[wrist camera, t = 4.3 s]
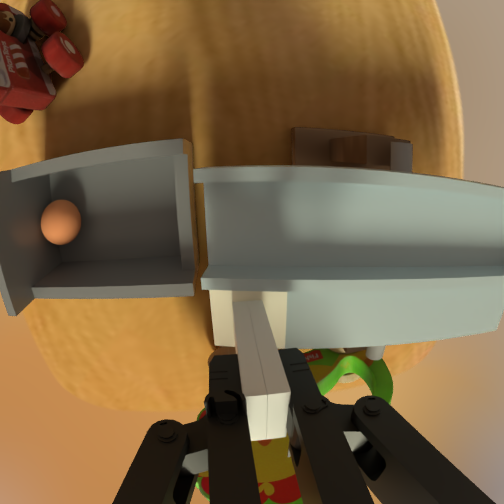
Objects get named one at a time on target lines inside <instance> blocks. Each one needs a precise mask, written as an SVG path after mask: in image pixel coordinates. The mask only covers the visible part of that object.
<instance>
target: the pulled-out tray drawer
mask: <svg viewBox="0 0 504 504" xmlns="http://www.w3.org/2000/svg"><path fill="white" fill-rule="evenodd" d="M193 169H194V167H193V144H192V143H190V142H188V141H187V140H185V139H183V138H181V139H170V140H160V141H151V142H143V143H135V144H128V145H121V146H115V147H109V148H103V149H97V150H91V151H86V152H81V153H76V154H71V155H67V156H62V157H58V158H53V159H49V160H45V161H41V162H37V163H33V164H30V165H26V166H23V167H19V168H16V169H12V170H7V171H1V172H0V292H1V295H2V298H3V301H4V304H5V307H6V310H7V313H8V315H9V316H17V315H18V314H19V313H20V312H21V311H22V310H23V309H24V308H25V307H26V306H27V305H28V304H29V303H30V302H31V301H32V300H33V299H35V298H44V299H115V298H156V297H183V296H194V294H195V287H196V281H197V275H198V269H199V263H200V261H199V249H198V236H197V222H196V206H195V189H194V176H193ZM56 200H68V201H70V202H72V203H73V204H74V205H75V206H76V207H77V208H78V210H79V212H80V215H81V228H80V231H79V233H78V235H77V236H76V238H75V239H74V240H72V241H71V242H69V243H67V244H64V245H56V244H53V243H51V242H50V241H48V240H47V239H46V237H45V236H44V234H43V232H42V229H41V217H42V214H43V212H44V210H45V208H46V207H47V206H48V205H49V204H50V203H52V202H53V201H56Z"/></svg>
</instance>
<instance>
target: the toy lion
mask: <svg viewBox="0 0 504 504" xmlns="http://www.w3.org/2000/svg"><path fill="white" fill-rule="evenodd" d="M229 354H236V350H235V347H228V346H223V347H220V348H218V349H217V350H215V351H214V352H213V353H212V354H211V355H210V357H209V359H208V366H209V363H210V361H211V360H212V358H213V357H214V355H229ZM303 354H304V356H305V358H306V360H307V364H308V365H309V367H310V370H311V372H312V374H313V377H314V379H315V381H316V384H317V386H318V388H319V391H320V393H321V395H322V396H324V395H325V394H326V393H327V392H329V391H330V390H331V389H332V388H333V387H334V386H335V384H336V383H337V382H339V383H349V382H353V381H355V380H357V379H359V378H360V377H361V378H362V379H363V380H364V381H365V382H366V383H367V385H368V387H369V388H370V390H371V392H372V396H377V397H381V398H382V399H384V400H385V401H386V402H388V403H389V404H391V398H392V394H393V381H392V377H391V374H390V372H389V370H388V368H387V366H386V364H385V362H384V360H383V359H382V358H381V359H380V360H371V359H369V358H367V357H366V350H362V351H357V352H352V353H347V354H346V353H345V351H344V349H343V348H319V349H313V350H310V351H308V352H305V353H303ZM205 414H206V410H205V408H204V409H203V410H202V411H201V412H200V413H199V415H198V417H197V420H199V419H201V418H202V417H204V415H205ZM251 444H252V450H253V457H254V463H255V469H256V475H257V481H258V487H259V493H260V499H261V504H303V501H302V497H301V494H300V490H299V486H298V482H297V478H296V474H295V470H294V467H293V463H292V459H291V456H290V457H287V456H288V446H289V436H288V433H287V434H286V437H282V438H274V439H266V440H257V441H251ZM195 486H196V487H197V488H198V489H199V490H200V492H201V493H202V495H204V497H206V498H207V500H208V501H209V502H210V499H209V475H208V471H205V472H201V473H199V475H198V478H197V482H196V485H195Z"/></svg>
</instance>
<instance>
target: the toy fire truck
mask: <svg viewBox="0 0 504 504" xmlns="http://www.w3.org/2000/svg"><path fill="white" fill-rule="evenodd" d="M30 16H31V18H30V19H29V18H28V17H26V16H25V15H24V14H23V13H22V12H21V11H18V10H16V9H15V8H12V7H11V6H9V5H7V4H5V3H0V115H1V116H2V117H3V118H4V119H5V120H7V121H8V122H10V123H13V124H20V123H23V122H24V121H25V120H26V119H27V118H28V117H29V116H30V115H31V113H32V112H33V110H44V109H45V108H46V107H47V106H48V105H49V104H50V103H51V102H52V101H53V100H54V99H55V97H56V90H55V88H54V86H53V84H52V81H51V80H52V75H51V72H52V71H53V70H55V71H56V72H57V73H59V74H60V76H62V77H64V78H70V77H72V76H73V75H74V74H76V73H77V72H78V71H79V70H80V69H81V68H82V67H83V64H84V62H83V58H82V56H81V54H80V52H79V51H78V49H77V48H76V46H75V45H74V44H73V42H72V41H71V40H70V39H69V38H68V37H67V36H66V35H64V34H63V33H61V32H60V31H62V30H63V29H64V28H65V27H66V25H67V21H66V19H65V17H64V15H63V13H62V12H61V11H60V9H59V8H58V7H57V5H56V4H55V3H53V2H52V1H51V0H40V1H39V2H37V3H36V4H35V5H34V6H33V7H32V8H31V10H30ZM45 35H47V36H49V38H48V39H47V40H46V41H44V43H43V44H42V46H41V51H42V54H43V56H44V58H45V60H46V61H47V62H46V63H45V64H44V63H43V60H42V58H41V55H40V53H39V50H38V48H37V46H36V43H35V42H36V40H40V39H42V38H43V37H44V36H45Z"/></svg>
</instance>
